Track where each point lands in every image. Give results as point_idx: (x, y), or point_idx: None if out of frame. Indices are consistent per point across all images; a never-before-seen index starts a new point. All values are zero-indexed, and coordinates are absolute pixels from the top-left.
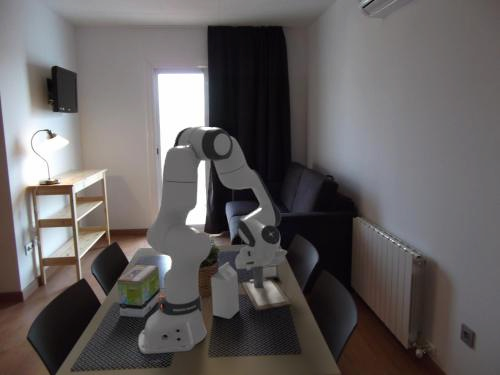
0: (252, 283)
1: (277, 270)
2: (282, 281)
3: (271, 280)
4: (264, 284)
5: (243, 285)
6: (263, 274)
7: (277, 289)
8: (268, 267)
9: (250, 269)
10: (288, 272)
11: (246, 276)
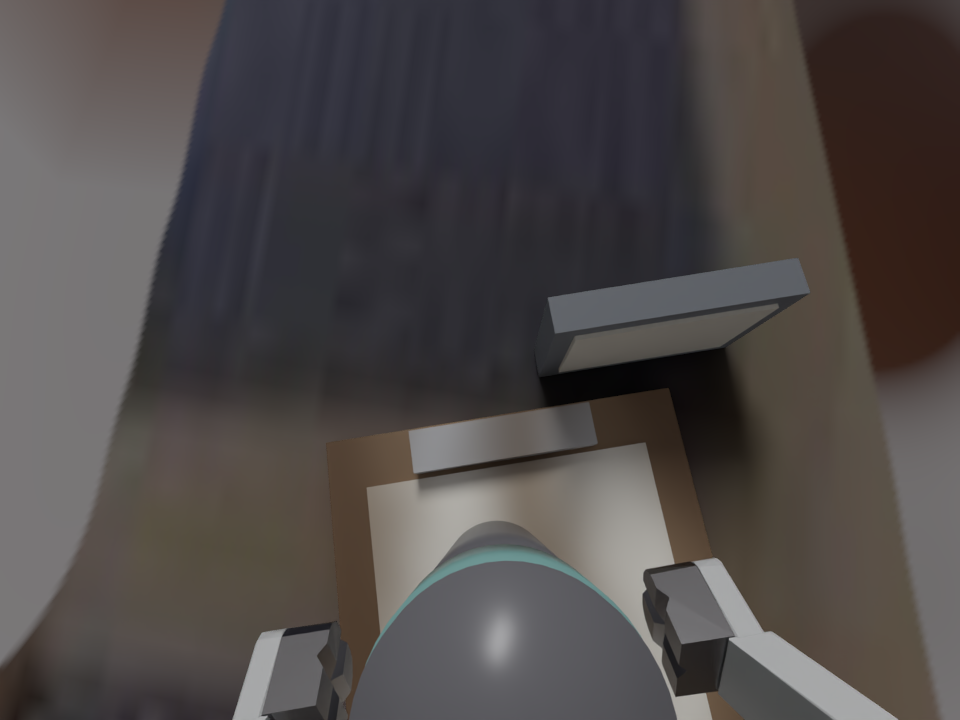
0: (437, 489)
1: (763, 322)
2: (771, 453)
3: (655, 440)
4: (569, 543)
5: (335, 511)
6: (579, 361)
7: (712, 700)
8: (669, 325)
9: (342, 698)
10: (842, 249)
11: (403, 272)
